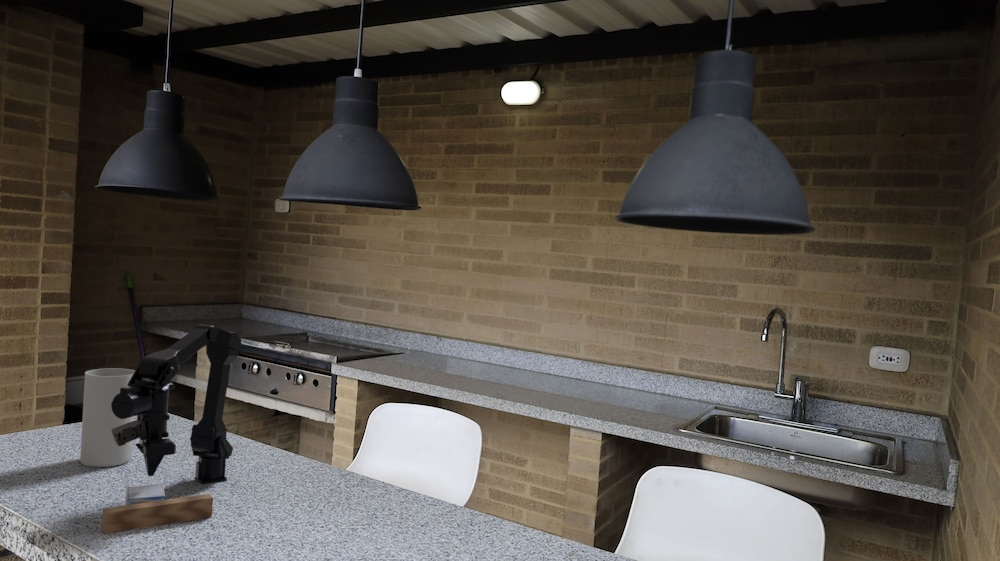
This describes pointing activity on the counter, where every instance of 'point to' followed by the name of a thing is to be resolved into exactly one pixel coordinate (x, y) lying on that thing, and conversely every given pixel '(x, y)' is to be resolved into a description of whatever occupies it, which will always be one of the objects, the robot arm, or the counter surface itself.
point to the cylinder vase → (103, 418)
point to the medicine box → (144, 494)
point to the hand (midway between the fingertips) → (150, 475)
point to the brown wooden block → (156, 513)
